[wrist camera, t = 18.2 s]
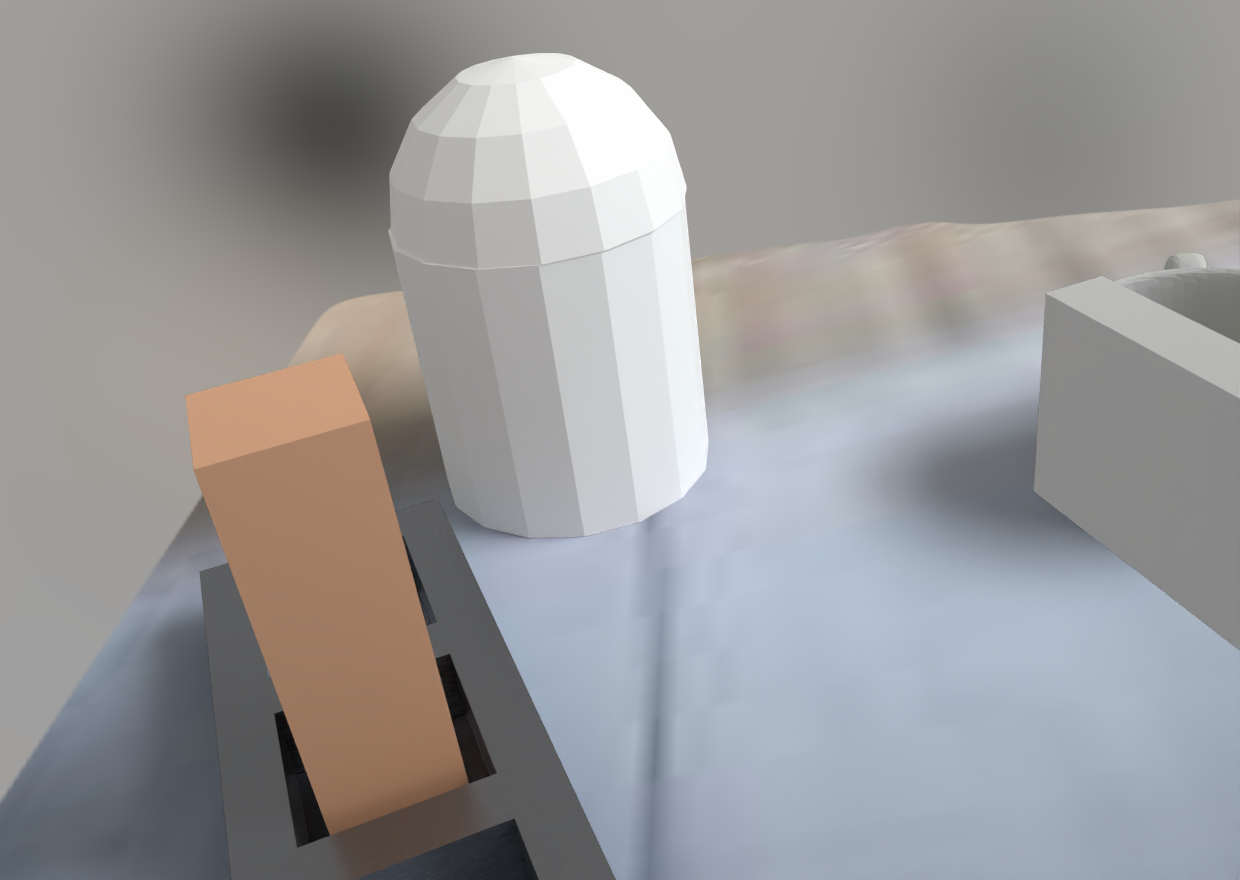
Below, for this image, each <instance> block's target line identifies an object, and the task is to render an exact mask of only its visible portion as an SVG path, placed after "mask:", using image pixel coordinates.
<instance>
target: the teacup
mask: <svg viewBox="0 0 1240 880" xmlns="http://www.w3.org/2000/svg"><path fill="white" fill-rule="evenodd" d="M1113 282H1115V283H1117V284H1119V285H1121V286H1123V287H1125V288H1128V289H1130V290H1132V291H1134V292H1136V293H1138V294H1140V295H1142V296H1144V297H1146V298H1148V299H1150V300H1152V301H1154V302H1156V303H1158V304H1160V305H1162V306H1164V307H1166V308H1168V309H1170V310H1172V311H1174V312H1176V313H1178V314H1180V315H1182V316H1184V317H1187V318H1189V319H1191V320H1193V321H1195V322H1197V323H1199V324H1201V325H1203V326H1205V327H1207V328H1209V329H1211V330H1213V331H1215V332H1217V333H1219V334H1221V335H1223V336H1225V337H1227V338H1229V339H1231V340H1233V341H1235V342H1237V343H1239V344H1240V269H1230V268H1215V267H1211V268H1206V262H1205V259H1204V258H1203V256H1201V255H1200V254H1196V253H1182V254H1175V255H1173V256H1170V257H1169V258H1168V260H1167V261H1166V264H1165V268H1164V270H1161V271H1155V272H1150V273H1142V274H1139V275H1134V276H1130V277H1126V278H1122V279H1118V280H1115V281H1113Z"/></svg>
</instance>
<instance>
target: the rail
mask: <svg viewBox="0 0 1240 880" xmlns="http://www.w3.org/2000/svg"><path fill="white" fill-rule="evenodd" d="M396 516H397V520H398V524H399V527H400V531H401V535H402V538H403V542H404V546H405V549H406V553H407V557H408V560H409V564H410V568H411V571H412V575H413V579H414V582H415V586H416V590H417V591H419V594H420V597H421V599H422V602H423V604H424V607H425V610H426V612H427V615H428V617H429V620H430V623H431V624H430V625H427V626H426V627H427V630H428V634H429V638H430V641H431V645H432V649H433V653H434V656H435V660H436V664H437V667H438V671H439V675H440V678H441V682H442V686H443V689H444V693H445V697H446V700H447V704H448V708H449V712H450V715H451V718H454V717H457V716H459V715H462V714H466V716H467V719H468V721H469V724H470V727H471V729H472V732H473V734H474V737H475V740H476V742H477V745H478V747H479V750H480V753H481V755H482V758H483V760H484V763H485V766H486V768H487V771H488V773H489V776H488V777H486V778H483V779H480V780H478V781H475V782H472V783H470V784H467V785H464V786H462V787H459V788H456V789H454V790H451V791H448V792H446V793H443V794H440V795H438V796H435V797H432V798H430V799H427V800H424V801H421V802H419V803H416V804H413V805H411V806H408V807H405V808H403V809H400V810H397V811H395V812H392V813H389V814H387V815H384V816H381V817H379V818H376V819H373V820H371V821H368V822H365V823H363V824H360V825H357V826H355V827H352V828H349V829H346V830H344V831H341V832H338V833H336V834H333V835H330V836H328V837H325V838H322V839H320V840H317V841H314V842H312V843H309V837H308V832H307V826H306V821H305V815H304V810H303V804H302V799H301V794H300V788H299V783H298V777H297V773H300V772H303V771H305V767H304V764H303V762H302V759H301V756H300V754H299V751H298V748H297V746H296V743H295V740H294V738H293V735H292V732H291V730H290V727H289V724H288V721H287V719H286V716H285V713H284V711H283V708H282V705H281V703H280V700H279V697H278V695H277V692H276V689H275V687H274V684H273V681H272V679H271V676H270V673H269V671H268V668H267V665H266V663H265V660H264V657H263V654H262V652H261V649H260V646H259V644H258V641H257V638H256V636H255V633H254V630H253V628H252V625H251V622H250V620H249V617H248V614H247V612H246V609H245V606H244V604H243V601H242V598H241V596H240V593H239V590H238V587H237V585H236V582H235V579H234V577H233V574H232V571H231V569H230V566H229V563H227V564H223V565H220V566H217V567H214V568H210V569H207V570H204V571H200V580H201V590H202V600H203V610H204V619H205V629H206V639H207V648H208V658H209V668H210V677H211V687H212V697H213V707H214V716H215V726H216V736H217V745H218V755H219V765H220V775H221V784H222V794H223V804H224V813H225V823H226V833H227V842H228V852H229V862H230V872H231V880H616V879H615V877H614V875H613V873H612V871H611V869H610V866H609V864H608V862H607V860H606V858H605V856H604V854H603V851H602V849H601V847H600V845H599V843H598V841H597V838H596V836H595V834H594V832H593V830H592V828H591V826H590V823H589V821H588V819H587V817H586V815H585V813H584V811H583V808H582V806H581V804H580V802H579V800H578V798H577V796H576V793H575V791H574V789H573V787H572V785H571V783H570V781H569V778H568V776H567V774H566V772H565V770H564V768H563V766H562V763H561V761H560V759H559V757H558V755H557V753H556V751H555V748H554V746H553V744H552V742H551V740H550V738H549V736H548V733H547V731H546V729H545V727H544V725H543V723H542V721H541V718H540V716H539V714H538V712H537V710H536V708H535V706H534V703H533V701H532V699H531V697H530V695H529V693H528V691H527V688H526V686H525V684H524V682H523V680H522V678H521V676H520V673H519V671H518V669H517V667H516V665H515V663H514V660H513V658H512V656H511V654H510V652H509V650H508V648H507V645H506V643H505V641H504V639H503V637H502V635H501V633H500V630H499V628H498V626H497V624H496V622H495V620H494V618H493V615H492V613H491V611H490V609H489V607H488V605H487V603H486V600H485V598H484V596H483V594H482V592H481V590H480V588H479V585H478V583H477V581H476V579H475V577H474V575H473V573H472V570H471V568H470V566H469V564H468V562H467V560H466V558H465V555H464V553H463V551H462V549H461V547H460V545H459V543H458V540H457V538H456V536H455V534H454V532H453V530H452V528H451V525H450V523H449V521H448V519H447V517H446V515H445V513H444V510H443V508H442V506H441V504H440V502H439V500H438V499H436V500H432V501H429V502H426V503H422V504H419V505H416V506H413V507H409V508H406V509H403V510H400V511H396Z"/></svg>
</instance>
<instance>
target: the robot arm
mask: <svg viewBox="0 0 1240 880" xmlns="http://www.w3.org/2000/svg"><path fill="white" fill-rule="evenodd" d="M1034 492H1035V493H1037V494H1038V495H1039V496H1041V497H1042V498H1043V499H1044V500H1046V501H1047V502H1048V503H1050V504H1051V505H1052V506H1053V507H1055V508H1056V509H1057V510H1059V511H1060V512H1061V513H1062V514H1064V515H1065V516H1066V517H1068V518H1069V519H1070V520H1072V521H1073V522H1074V523H1075V524H1077V525H1078V526H1079V527H1081V528H1082V529H1083V530H1084V531H1086V532H1087V533H1088V534H1090V535H1091V536H1092V537H1094V538H1095V539H1096V540H1097V541H1099V542H1100V543H1101V544H1103V545H1104V546H1105V547H1106V548H1108V549H1109V550H1110V551H1112V552H1113V553H1114V554H1115V555H1117V556H1118V557H1119V558H1121V559H1122V560H1123V561H1125V562H1126V563H1127V564H1128V565H1130V566H1131V567H1132V568H1134V569H1135V570H1136V571H1137V572H1139V573H1140V574H1141V575H1143V576H1144V577H1145V578H1146V579H1148V580H1149V581H1150V582H1152V583H1153V584H1154V585H1156V586H1157V587H1158V588H1159V589H1161V590H1162V591H1163V592H1165V593H1166V594H1167V595H1168V596H1170V597H1171V598H1172V599H1174V600H1175V601H1176V602H1178V603H1179V604H1180V605H1181V606H1183V607H1184V608H1185V609H1187V610H1188V611H1189V612H1190V613H1192V614H1193V615H1194V616H1196V617H1197V618H1198V619H1199V620H1201V621H1202V622H1203V623H1205V624H1206V625H1207V626H1209V627H1210V628H1211V629H1212V630H1214V631H1215V632H1216V633H1218V634H1219V635H1220V636H1221V637H1223V638H1224V639H1225V640H1227V641H1228V642H1229V643H1230V644H1232V645H1233V646H1234V647H1236V648H1237V649H1238V650H1240V344H1239V343H1237V342H1235V341H1233V340H1231V339H1229V338H1227V337H1225V336H1223V335H1221V334H1219V333H1217V332H1215V331H1213V330H1211V329H1209V328H1207V327H1205V326H1203V325H1201V324H1199V323H1197V322H1195V321H1193V320H1191V319H1189V318H1187V317H1184V316H1182V315H1180V314H1178V313H1176V312H1174V311H1172V310H1170V309H1168V308H1166V307H1164V306H1162V305H1160V304H1158V303H1156V302H1154V301H1152V300H1150V299H1148V298H1146V297H1144V296H1142V295H1140V294H1138V293H1136V292H1134V291H1132V290H1130V289H1128V288H1125V287H1123V286H1121V285H1119V284H1117V283H1115V282H1113V281H1111V280H1109V279H1107V278H1105V277H1103V276H1100V277H1097V278H1094V279H1091V280H1087V281H1084V282H1081V283H1078V284H1074V285H1071V286H1068V287H1065V288H1061V289H1058V290H1055V291H1052V292H1048V293H1046V297H1045V313H1044V330H1043V346H1042V363H1041V380H1040V396H1039V413H1038V429H1037V446H1036V462H1035V479H1034Z"/></svg>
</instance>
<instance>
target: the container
mask: <svg viewBox="0 0 1240 880" xmlns="http://www.w3.org/2000/svg"><path fill="white" fill-rule="evenodd" d="M686 188H687V187H686V184H685V181H684V177H683V174H682V171H681V168H680V164H679V162H678V158H677V155H676V151H675V148H674V145H673V142H672V138H671V135H670V132H668V130H667V129H666V128H665V127H664V125H663V124H662V123H661V122H660V121H659V120H658V118H657V117H656V116H655V115H654V114H653V113H652V111H651V110H650V109H649V108H648V107H647V106H646V104H645V103H644V102H643V101H642V100H641V98H640V97H639V96H638V95H637V94H636V93H635V91H634V90H633V89H632V88H631V87H630V86H629V85H627V84H626V83H625V82H623V81H622V80H621V79H619V78H617V77H615V76H613V75H611V74H609V73H606V72H604V71H602V70H600V69H598V68H596V67H594V66H591V65H589V64H587V63H585V62H583V61H581V60H579V59H577V58H574V57H572V56H570V55H563V54H558V53H535V54H526V55H516V56H511V57H505V58H500V59H494V60H491V61H487V62H484V63H480V64H477V65H474V66H472V67H469V68H467V69H465V70H463V71H461V72H460V73H459V74H458V75H457V76H456V77H455V78H453V79H452V80H451V81H450V83H448V84H447V85H446V86H445V87H444V88H443V89H442V90H441V91H440V92H439V93H437V94H436V95H435V96H434V97H433V98H432V99H431V100H430V101H429V102H428V103H427V104H426V105H425V106H424V107H423V108H422V109H421V110H420V111H419V112H418V113H417V114H416V115H415V116H414V117H413V118H412V120H411V122H410V124H409V127H408V129H407V132H406V134H405V137H404V139H403V142H402V144H401V146H400V149H399V151H398V154H397V156H396V159H395V161H394V164H393V166H392V168H391V171H390V209H391V228H390V229H389V231H388V232H389V236H390V240H391V244H392V249H393V253H394V257H395V261H396V265H397V269H398V274H399V278H400V282H401V286H402V291H403V295H404V299H405V303H406V307H407V312H408V316H409V320H410V324H411V328H412V332H413V337H414V341H415V345H416V349H417V353H418V358H419V362H420V366H421V370H422V374H423V378H424V383H425V387H426V391H427V395H428V399H429V404H430V408H431V412H432V416H433V420H434V424H435V429H436V433H437V437H438V441H439V445H440V449H441V454H442V458H443V462H444V466H445V470H446V475H447V479H448V482H449V486H450V489H451V493H452V496H453V500H454V503H455V506H456V507H457V508H458V509H460V510H461V511H462V512H464V513H465V514H466V515H468V516H469V517H471V518H472V519H473V520H475V521H476V522H477V523H479V524H480V525H481V526H483V527H485V528H489V529H493V530H497V531H501V532H505V533H509V534H513V535H517V536H522V537H526V538H560V537H586V536H590V535H593V534H597V533H601V532H605V531H608V530H612V529H616V528H620V527H623V526H627V525H631V524H635V523H639V522H641V521H642V520H644V519H646V518H648V517H649V516H651V515H653V514H655V513H657V512H658V511H660V510H662V509H664V508H665V507H667V506H669V505H671V504H673V503H674V502H676V501H678V500H680V499H681V498H682V497H683V496H684V495H685V494H686V493H687V491H688V490H689V489H690V488H691V487H692V485H693V484H694V483H695V482H696V481H697V479H698V478H699V477H700V476H701V475H702V473H703V472H704V471H705V470H706V461H707V451H708V432H707V422H706V411H705V401H704V391H703V381H702V370H701V360H700V350H699V339H698V329H697V319H696V309H695V298H694V288H693V278H692V267H691V257H690V247H689V237H688V226H687V217H686V206H685V193H686Z"/></svg>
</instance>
